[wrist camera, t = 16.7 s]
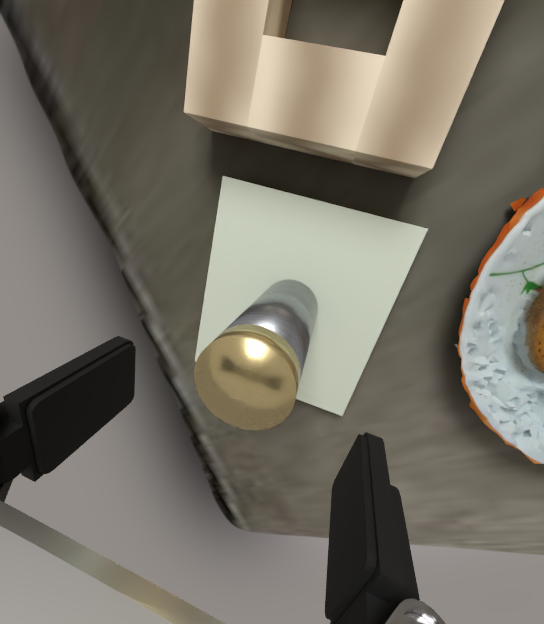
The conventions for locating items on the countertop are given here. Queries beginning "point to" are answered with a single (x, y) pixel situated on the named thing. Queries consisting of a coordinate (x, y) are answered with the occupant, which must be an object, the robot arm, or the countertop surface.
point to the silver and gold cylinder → (259, 358)
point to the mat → (309, 276)
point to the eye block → (336, 81)
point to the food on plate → (509, 332)
